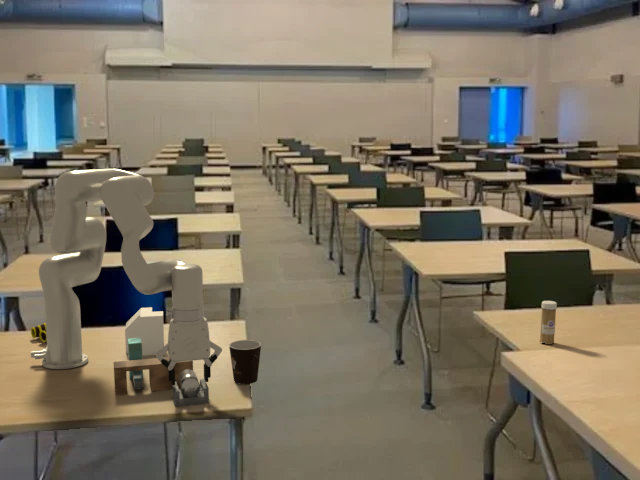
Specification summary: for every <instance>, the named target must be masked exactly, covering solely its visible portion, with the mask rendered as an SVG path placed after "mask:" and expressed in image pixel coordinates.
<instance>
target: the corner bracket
mask: <svg viewBox="0 0 640 480" xmlns="http://www.w3.org/2000/svg"><path fill="white" fill-rule="evenodd" d="M164 329H165V328H164V311H163V310H162V311H161V310H159V311H153V307H151V306H149V307H141V308H139V310H137V312H136V313H135V314H133V316H131V317H130V319H128V320H127V322H126V323H125V329H124V335H125V341H124V342H125V354H128V339H129V338H141V342H142V357H143V356H144V357H145V356H155V353H156V352H158V351H159V350H160V349H161V348H163V347H164V346H165V331H164Z"/></svg>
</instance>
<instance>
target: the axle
mask: <svg viewBox="0 0 640 480" xmlns="http://www.w3.org/2000/svg"><path fill="white" fill-rule="evenodd" d="M179 382H180V385H181V388H180V389H182V392H183V393H184V395H186V396H188V397H193V396H196V395H197V394H198V393H199V391H200V380H199V379H198V376H197V374H196V372H195V371H194V369H193V370H191V369H185V370H183V371H182V372H181V373H180V374H179Z"/></svg>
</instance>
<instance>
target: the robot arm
mask: <svg viewBox="0 0 640 480" xmlns="http://www.w3.org/2000/svg"><path fill="white" fill-rule="evenodd" d="M54 196H55V198H54V200H55V205H54V212H53V219H52V224H51V231H50V236H49V237H50V238H49V243H50V248H51V249H52V251H53V252H55V253H57V254H58V255H54V256H53V255H52V256H49V257H48V258H46V259H44V260H43V261H42V262H41V263H40V265H39V268H38V277H39V281H40V284H41V289H42V293H43V299H44V300H43V301H44V303H43V304H44V314H45V315H44V316H45V323H46V336H47V341H46V348H44V349H42V350H30V357H31V359H35V360H40V359H42V360H41V363H42V366H43V367H44V368H45V369H48V370H49V369H51V370H69V369H74V368H77V367H80V366H83V365H85V364H87V362H88V361H89V355H87V354H85V353H83V340H82V338H83V337H82V321H81V317H82V316H81V304H80V299H79V297H78V296H77V294H76V293H75V292H74V290H73V288H74V287H77V286H82V285H85V284H86V285H87V284H89V283H93V282H95V281H96V280H97V279H98V277H99V276H100V273H101V270H102V265H103V260H104V254H105V250H106V244H107V231H106V230H107V229H106V228H105V226H104V224H103V222H102V221H101V220H100V219H99V218H97V217H93V216H88V215H87V214H88V206H87V204H86V203H87V202H95V201H97V202H98V201H99V202H100V201H102V203H103V204H104V206H105V208H106V209H107V211H108V213H109V215H110V216H111V218H112V220H113V221H114V223H115V225H116V227H117V228H118V230H119V232H120V233H121V236H122V238H123V240H122V242H121V248H120V252H121V253H120V255H121V256H120V257H121V263H122V267H123V270H124V272H125V274H126V275H127V277H128V279H129V280H130V282H131V284H132V285H133V286H134V288H135V289H136V290H137V291H138V292H139V293H141V294H144V295H154V294H159V293H161V292H166V291H170V290H171V301H172V308H171V309H170V310H166V317H170V318H171V319H170V320H169V327H168V336H167V343H166V344H164V347H163V348H161V349H160V350H159V351H158V352H156V353H155V355H154V356H155V358H157V359H158V360H159V361H160V362H161V363H162V364H163V365H164V366H165V367H166V368H167V369H168V378H169V381H171V383H172V386H173V385H175V370H174V365H175V364H176V362H181V361H193V362H194V361H201V360H203V362H204V363H203V379H204V380H205V382H206V383H209V378H211V377H212V375H211V373H212V372H211V371H212V370H211V369H212V368H211V366H213V363H215V362H216V361H217V359H218V357H219V356H220V355H221V354H222V352H223V349H222V347H221V346H219V345H218V344H216V343H214V342H213V341H211V340H210V339H211V338H210V328H209V323H208V320H207V317H205V316H204V289H203V288H204V286H203V285H204V283H203V269H202V266H200V265H198V264H197V263H196V264H195V263H185V262H184V261H181V260H179V259H175V258H172V259H171V258H170V259H166V260H160V261H154V262H150V263H147V261H146V259H145V258H144V256H143V254H142V252H141V250H140V249H141V248H140V241H141V240H142V239H143V238H145V237H146V236H147V235H148V234H149V233H150V232H151V231H152V229H153V228H154V220H153V219H152V217H151V215H150V214H149V212H148V210H147V208H146V207H145V206H148V205H149V204H151V203H152V202H153V200H154V196H155V191H154V187H153V185H152V183H151V181H150V180H149V179H148V178H146V177H145V176H144V175H141V174H138V173H134V172H131V171H126V170H122V169H119V168H99V169H98V168H97V169H95V168H94V169H79V170H78V169H77V170H71V171H66V172H63V173H61V174H60V175H59V176H58V177H57V180H56V182H55V186H54ZM211 349H212V350H214V352H213V353H212V354H211ZM166 353H168V357H169V358H170V359H169V361H167V360H166V359H165V358H164V355H165V354H166Z"/></svg>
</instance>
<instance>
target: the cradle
mask: <svg viewBox="0 0 640 480" xmlns="http://www.w3.org/2000/svg"><path fill="white" fill-rule="evenodd" d="M199 384H200V391H199V393H198V394H197V395H196V396H193V397H188V396H186V395H184V393H183V392H182V388H180V389H179V388H178V385H177V382H175V385H173V386H172V389H171V399H172V402H173V406H174V408H178V407H189V406H198V405H208V404H210V395H209V393H210V390H209V386H208V382H205V380H204V378H200V379H199Z"/></svg>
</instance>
